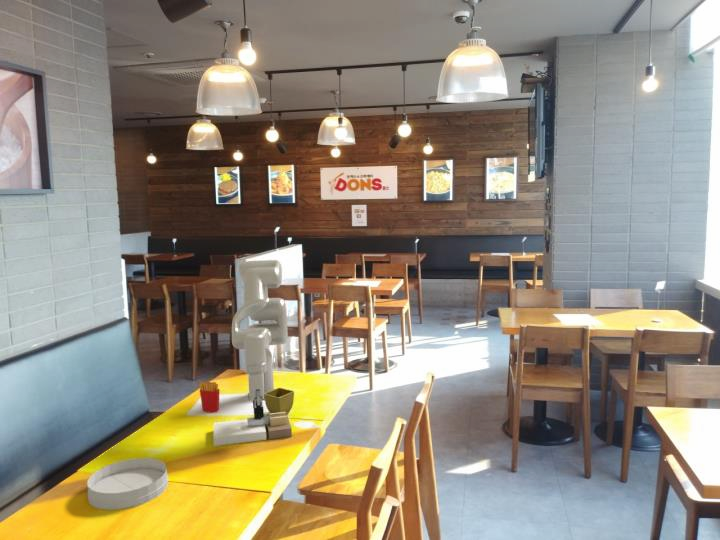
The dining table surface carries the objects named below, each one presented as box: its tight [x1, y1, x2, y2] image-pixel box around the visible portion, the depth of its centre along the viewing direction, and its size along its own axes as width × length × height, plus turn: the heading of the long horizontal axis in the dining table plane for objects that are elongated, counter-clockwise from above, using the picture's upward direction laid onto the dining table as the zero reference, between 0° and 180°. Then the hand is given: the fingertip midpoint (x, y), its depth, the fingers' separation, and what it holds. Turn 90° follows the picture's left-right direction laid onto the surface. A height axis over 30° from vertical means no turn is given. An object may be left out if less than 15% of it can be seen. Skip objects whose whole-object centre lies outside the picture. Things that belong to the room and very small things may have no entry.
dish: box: [86, 457, 169, 511], centre depth 168 cm, size 22×22×5 cm
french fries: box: [198, 381, 220, 414], centre depth 231 cm, size 8×4×12 cm, turn 74°
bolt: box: [246, 404, 281, 427], centre depth 207 cm, size 3×12×7 cm, turn 103°
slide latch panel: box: [212, 412, 293, 447], centre depth 207 cm, size 14×27×6 cm, turn 103°
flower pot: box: [263, 387, 295, 415], centre depth 225 cm, size 9×9×9 cm
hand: (258, 412), depth 207 cm, fingers open, 9 cm apart
